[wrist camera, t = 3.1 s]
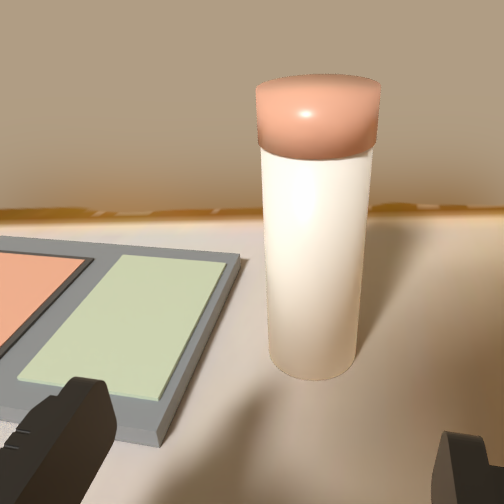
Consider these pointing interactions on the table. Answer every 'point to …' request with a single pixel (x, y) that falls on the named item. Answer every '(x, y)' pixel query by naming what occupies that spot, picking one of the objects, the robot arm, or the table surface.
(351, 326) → the marker
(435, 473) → the robot arm
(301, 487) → the table surface
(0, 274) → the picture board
